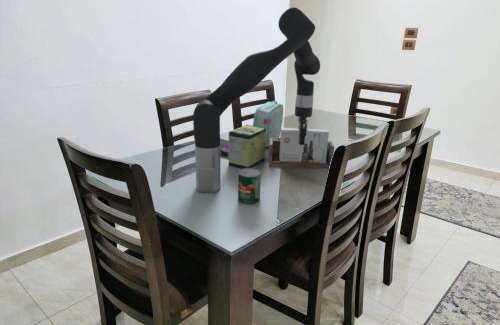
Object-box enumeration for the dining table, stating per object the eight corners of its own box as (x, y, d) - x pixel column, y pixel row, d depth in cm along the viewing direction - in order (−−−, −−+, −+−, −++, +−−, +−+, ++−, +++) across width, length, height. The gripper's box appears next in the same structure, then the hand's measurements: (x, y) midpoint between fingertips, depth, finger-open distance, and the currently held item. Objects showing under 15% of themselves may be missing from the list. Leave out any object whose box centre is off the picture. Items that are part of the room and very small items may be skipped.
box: (200, 151, 179) (229, 159, 168) (199, 144, 178) (229, 152, 167) (219, 144, 190) (247, 151, 178) (218, 137, 188) (247, 145, 177)
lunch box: (265, 134, 207) (267, 97, 199) (282, 136, 204) (284, 99, 196) (250, 147, 183) (251, 106, 176) (269, 150, 180) (271, 108, 173)
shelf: (331, 168, 158) (334, 147, 155) (268, 166, 159) (269, 144, 156) (328, 160, 168) (330, 139, 165) (268, 157, 170) (269, 137, 166)
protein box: (265, 160, 167) (266, 127, 161) (248, 170, 154) (248, 135, 149) (246, 155, 172) (246, 124, 166) (228, 165, 159) (228, 131, 154)
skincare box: (279, 164, 161) (280, 129, 156) (278, 161, 166) (280, 127, 162) (326, 166, 160) (329, 131, 156) (324, 162, 165) (327, 129, 161)
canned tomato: (260, 196, 131) (261, 168, 127) (259, 206, 124) (260, 176, 120) (238, 195, 131) (238, 167, 127) (237, 205, 124) (237, 175, 120)
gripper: (314, 108, 147) (311, 147, 153) (311, 102, 161) (307, 138, 167) (296, 108, 148) (293, 147, 154) (294, 101, 161) (291, 137, 167)
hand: (301, 142), depth 160 cm, fingers closed on skincare box, 5 cm apart
